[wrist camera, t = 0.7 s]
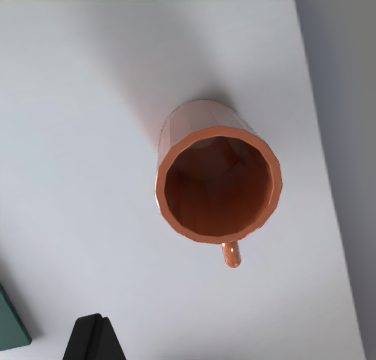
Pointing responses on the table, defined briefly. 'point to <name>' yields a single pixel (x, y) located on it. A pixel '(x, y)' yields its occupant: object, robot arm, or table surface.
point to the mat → (11, 325)
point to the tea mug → (215, 176)
